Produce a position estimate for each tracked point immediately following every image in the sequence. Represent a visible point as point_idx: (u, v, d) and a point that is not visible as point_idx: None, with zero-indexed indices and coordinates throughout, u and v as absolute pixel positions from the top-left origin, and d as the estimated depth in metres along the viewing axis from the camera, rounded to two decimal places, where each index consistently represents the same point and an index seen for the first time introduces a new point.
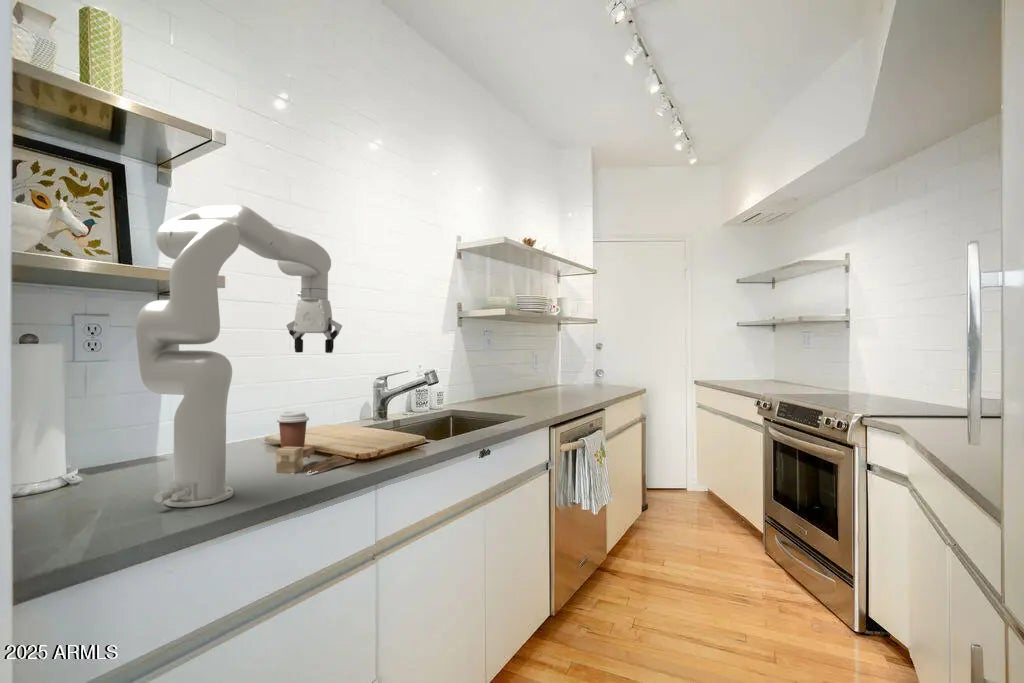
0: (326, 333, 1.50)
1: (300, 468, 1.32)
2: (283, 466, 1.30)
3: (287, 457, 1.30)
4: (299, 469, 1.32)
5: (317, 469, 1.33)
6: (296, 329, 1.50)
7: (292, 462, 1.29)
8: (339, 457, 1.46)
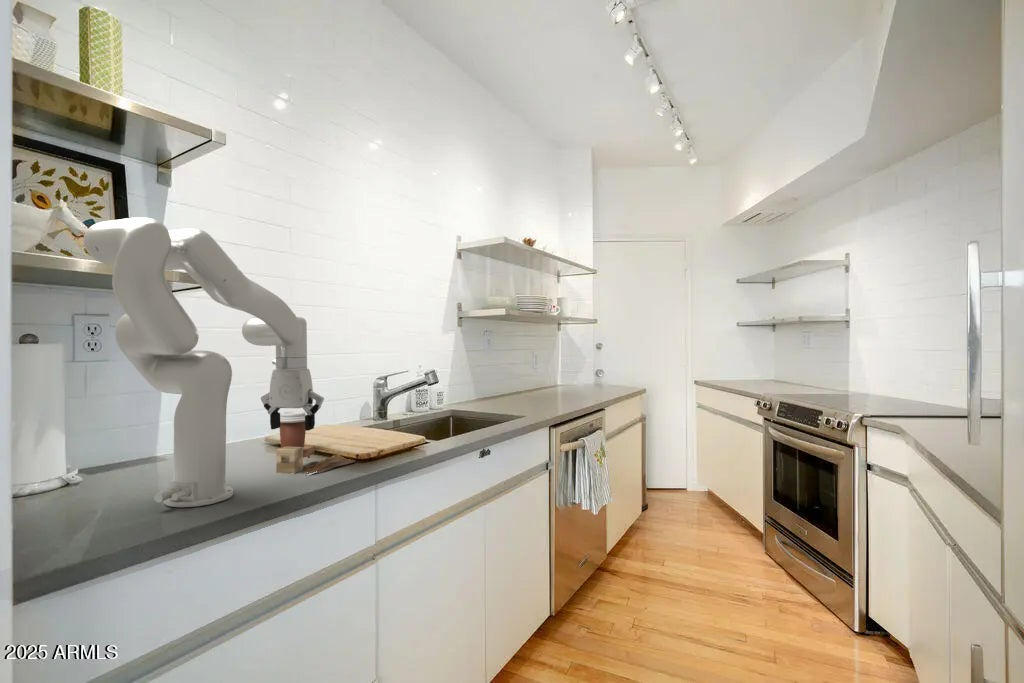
0: (306, 408, 1.30)
1: (300, 468, 1.32)
2: (283, 466, 1.30)
3: (287, 457, 1.30)
4: (299, 469, 1.32)
5: (317, 469, 1.33)
6: (271, 404, 1.30)
7: (292, 462, 1.29)
8: (339, 457, 1.46)
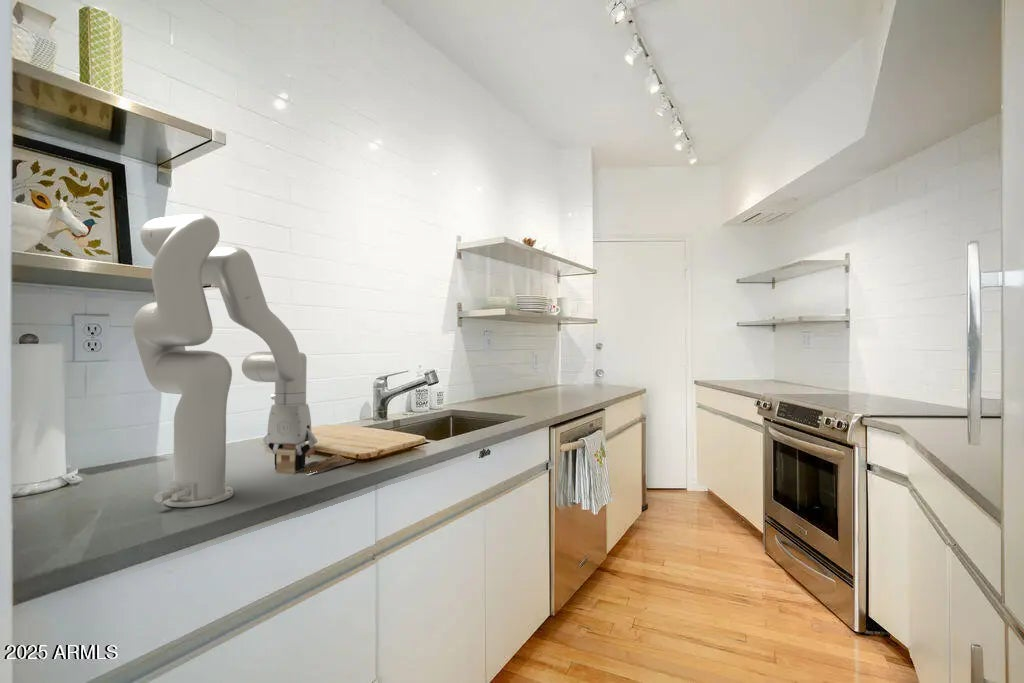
0: (298, 447, 1.30)
1: None
2: (284, 466, 1.30)
3: (287, 457, 1.30)
4: None
5: (317, 469, 1.33)
6: (269, 439, 1.30)
7: (292, 461, 1.30)
8: (339, 457, 1.46)
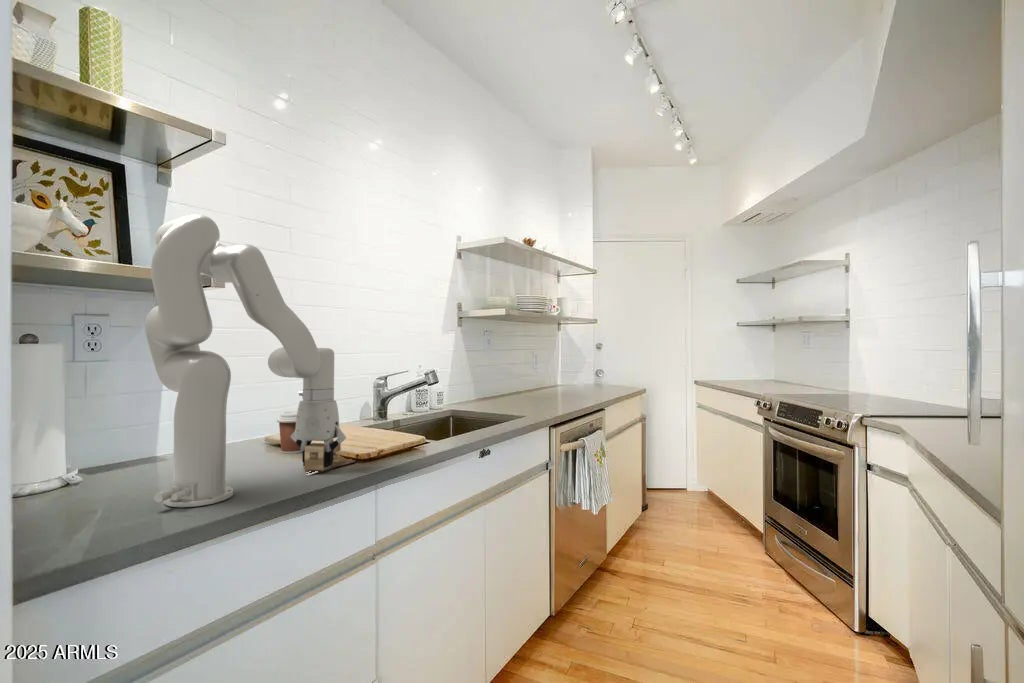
0: (327, 444, 1.29)
1: None
2: (312, 463, 1.29)
3: (315, 454, 1.29)
4: None
5: None
6: (297, 436, 1.28)
7: (321, 458, 1.28)
8: (339, 457, 1.46)
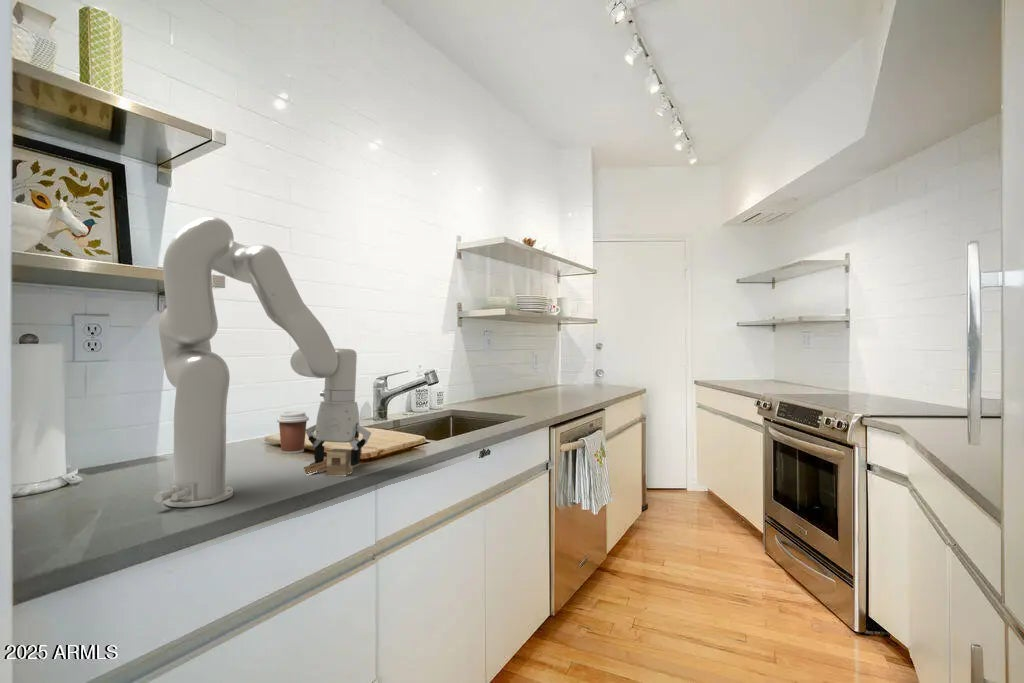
0: (352, 442, 1.27)
1: (350, 471, 1.30)
2: (334, 469, 1.28)
3: (337, 460, 1.28)
4: (349, 472, 1.30)
5: (317, 469, 1.33)
6: (317, 437, 1.27)
7: (343, 464, 1.27)
8: None
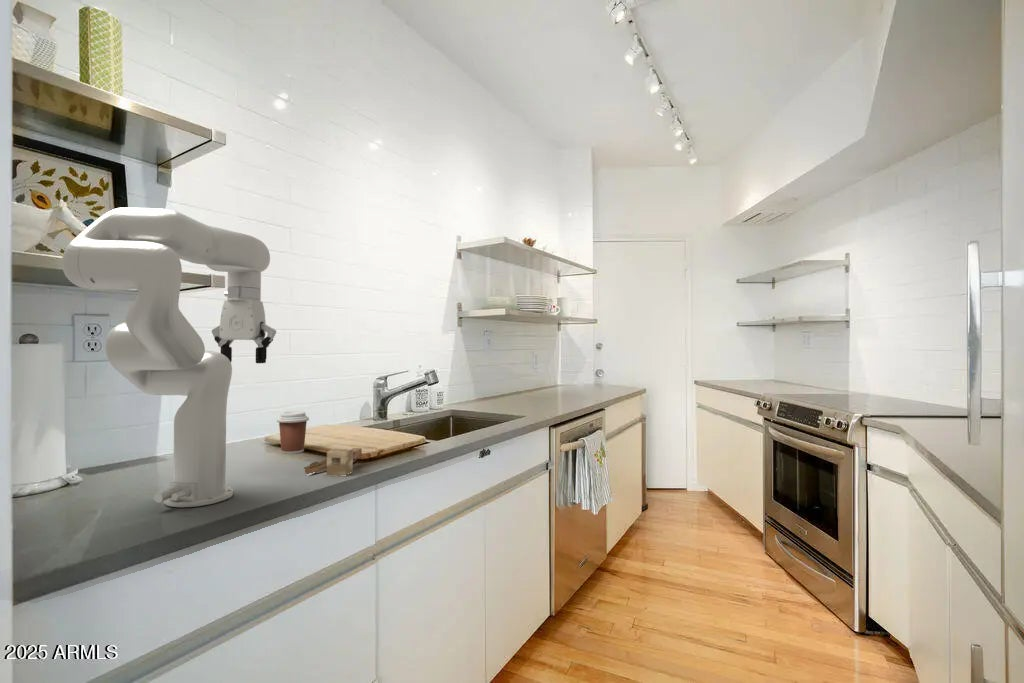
0: (257, 340, 1.26)
1: (350, 471, 1.30)
2: (334, 468, 1.28)
3: (337, 460, 1.28)
4: (349, 472, 1.30)
5: (317, 469, 1.33)
6: (221, 335, 1.26)
7: (343, 464, 1.27)
8: None
